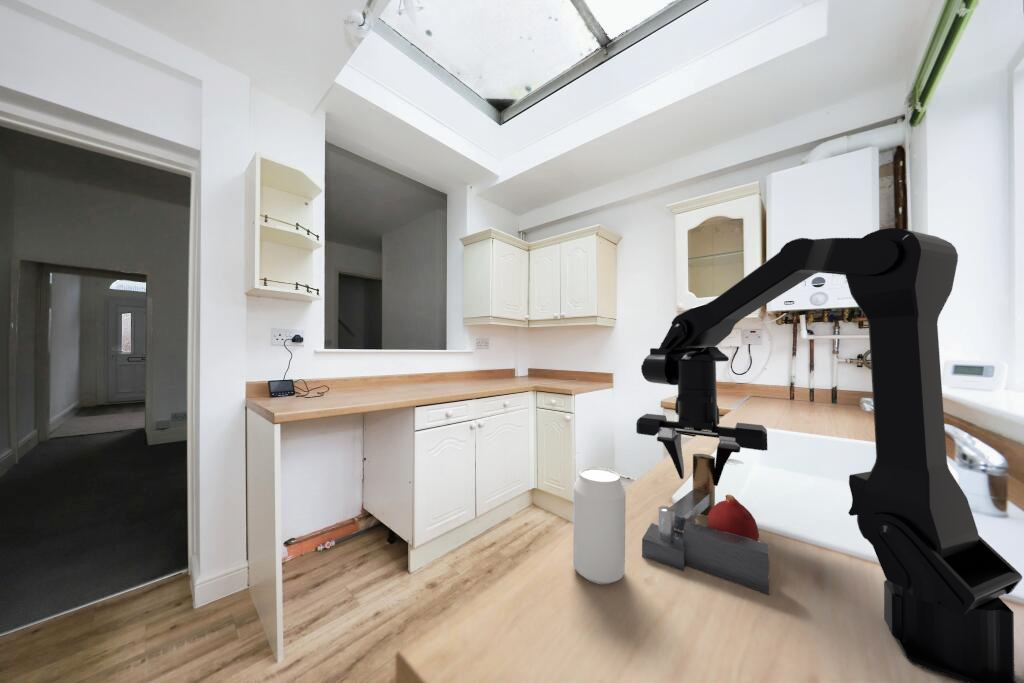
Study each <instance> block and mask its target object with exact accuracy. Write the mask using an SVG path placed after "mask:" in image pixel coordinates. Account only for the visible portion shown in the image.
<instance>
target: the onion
mask: <svg viewBox="0 0 1024 683" xmlns="http://www.w3.org/2000/svg"><path fill="white" fill-rule="evenodd" d="M706 522H707V527H708V528H712V529H715V530H719V531H722V532H728V533H732V534H735V535H739V536H742V537H746V538H750V539H753V540H755V541H758V542H759V538H760V534H759V528H758V525H757V522H756V519H755V517H754V516H753V515H752V513H751V512H750V511H749V509H748V508H746V507H745V506H744V505H743V504H742V503H740V502H739V500H737V499H736V497H735V496H734V495H732V494H726V495H725V499H724V500H722V501H719V502H717V503H715V506H714V507H713V508H712V509H711V510H710V512H709V514H708V516H707V518H706Z"/></svg>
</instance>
